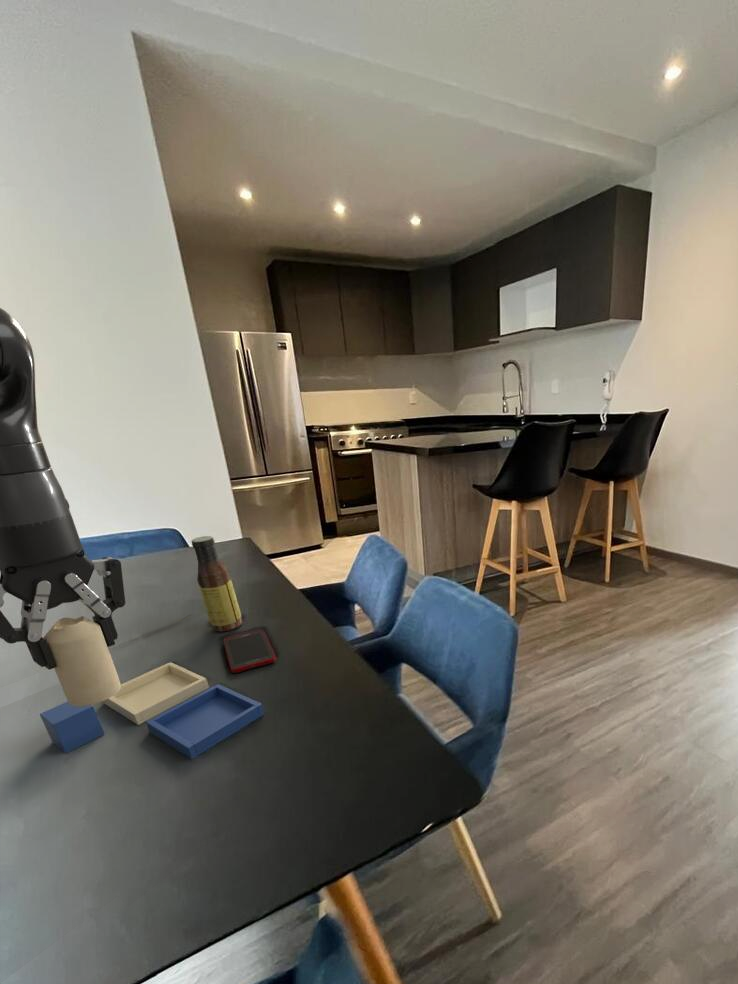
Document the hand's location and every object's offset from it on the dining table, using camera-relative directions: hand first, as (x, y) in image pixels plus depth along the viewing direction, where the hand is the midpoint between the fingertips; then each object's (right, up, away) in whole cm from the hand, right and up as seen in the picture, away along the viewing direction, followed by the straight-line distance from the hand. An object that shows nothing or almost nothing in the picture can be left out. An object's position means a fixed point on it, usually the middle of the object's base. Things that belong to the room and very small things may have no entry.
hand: (80, 654), depth 58 cm
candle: (0, -5, +2) cm, 6 cm away
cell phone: (+6, -4, +36) cm, 36 cm away
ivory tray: (-5, -9, +23) cm, 26 cm away
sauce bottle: (-4, +1, +47) cm, 48 cm away
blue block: (-11, -14, +14) cm, 22 cm away
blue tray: (+8, -12, +15) cm, 21 cm away
